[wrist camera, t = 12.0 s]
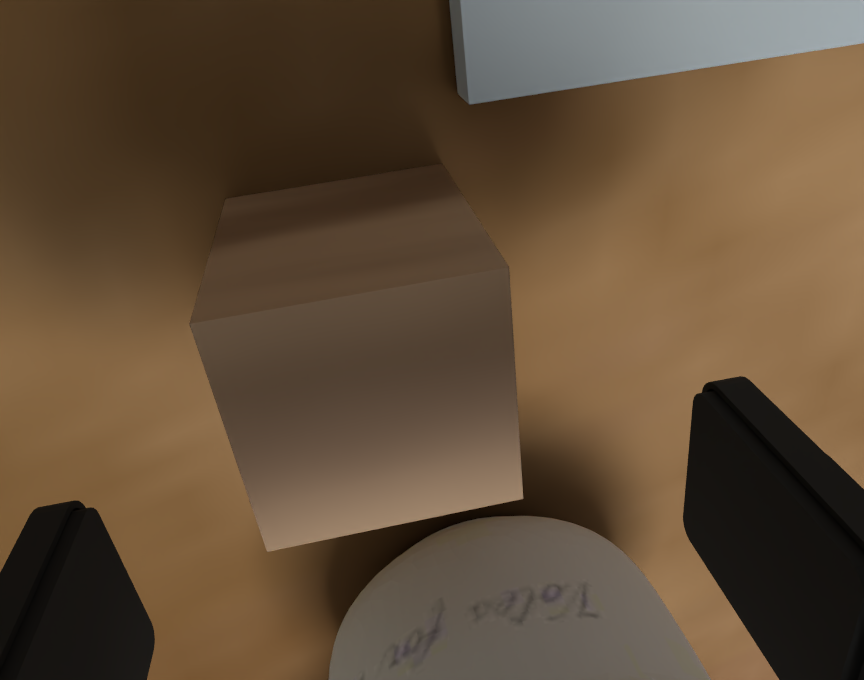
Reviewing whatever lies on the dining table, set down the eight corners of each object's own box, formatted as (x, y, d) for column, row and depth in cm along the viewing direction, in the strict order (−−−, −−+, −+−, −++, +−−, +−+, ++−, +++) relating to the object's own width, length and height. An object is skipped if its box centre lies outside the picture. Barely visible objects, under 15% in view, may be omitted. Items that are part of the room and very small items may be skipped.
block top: (225, 198, 16) (189, 323, 10) (441, 162, 16) (508, 266, 11) (276, 379, 18) (267, 551, 13) (461, 344, 19) (523, 498, 13)
